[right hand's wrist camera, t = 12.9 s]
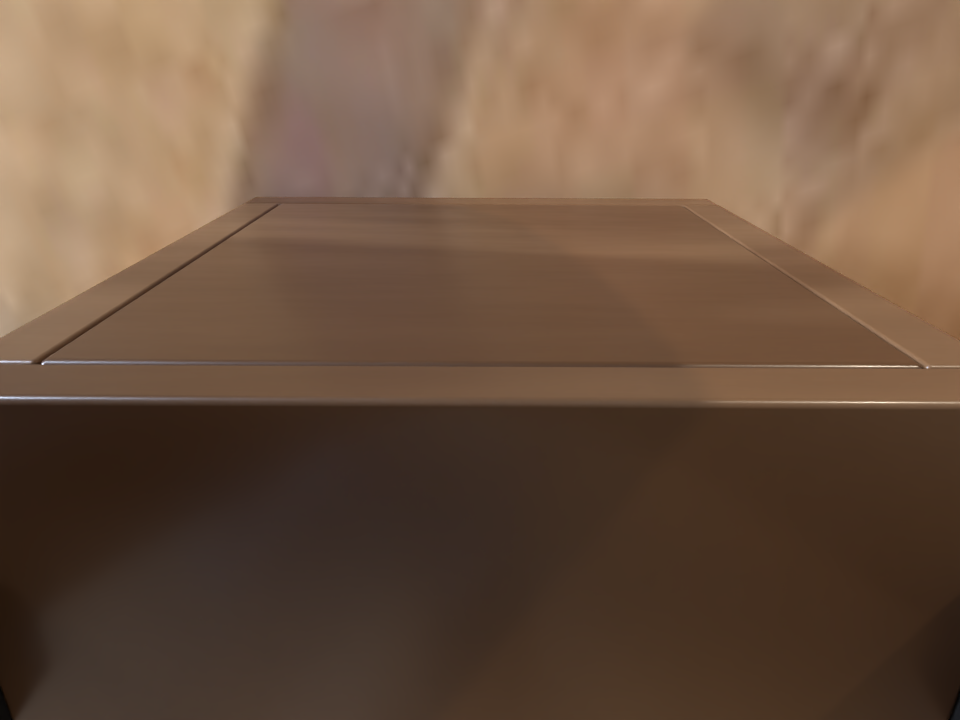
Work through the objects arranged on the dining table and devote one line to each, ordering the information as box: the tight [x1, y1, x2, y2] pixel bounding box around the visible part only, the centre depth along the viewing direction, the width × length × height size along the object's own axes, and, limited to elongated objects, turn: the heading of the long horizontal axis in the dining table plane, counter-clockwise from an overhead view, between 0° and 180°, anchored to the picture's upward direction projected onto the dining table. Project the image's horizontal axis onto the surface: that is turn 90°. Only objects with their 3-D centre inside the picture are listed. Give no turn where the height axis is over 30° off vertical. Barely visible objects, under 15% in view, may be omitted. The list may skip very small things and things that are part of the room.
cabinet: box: [0, 197, 960, 720], centre depth 16 cm, size 22×11×11 cm, turn 0°
